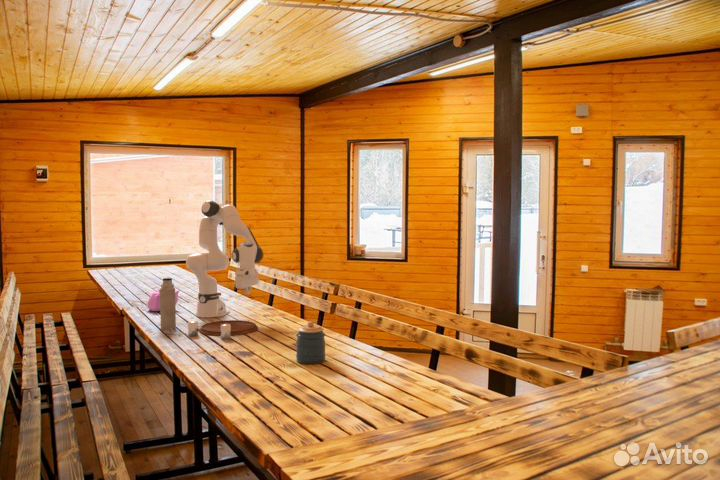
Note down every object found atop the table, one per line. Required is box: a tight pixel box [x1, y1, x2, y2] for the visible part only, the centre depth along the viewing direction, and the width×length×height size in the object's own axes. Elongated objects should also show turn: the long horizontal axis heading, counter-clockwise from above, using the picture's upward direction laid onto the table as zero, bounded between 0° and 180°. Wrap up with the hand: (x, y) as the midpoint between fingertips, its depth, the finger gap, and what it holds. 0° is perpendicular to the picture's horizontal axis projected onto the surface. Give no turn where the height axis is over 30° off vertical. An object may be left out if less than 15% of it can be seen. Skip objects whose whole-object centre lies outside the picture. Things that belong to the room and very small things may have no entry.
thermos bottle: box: [159, 277, 177, 330], centre depth 312 cm, size 8×8×28 cm
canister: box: [295, 321, 327, 365], centre depth 246 cm, size 13×13×18 cm
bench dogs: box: [187, 320, 232, 340], centre depth 292 cm, size 5×25×7 cm, turn 70°
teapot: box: [146, 288, 181, 312], centre depth 366 cm, size 22×22×14 cm
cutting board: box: [198, 319, 259, 337], centre depth 309 cm, size 32×32×3 cm
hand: (247, 293), depth 328 cm, fingers closed
